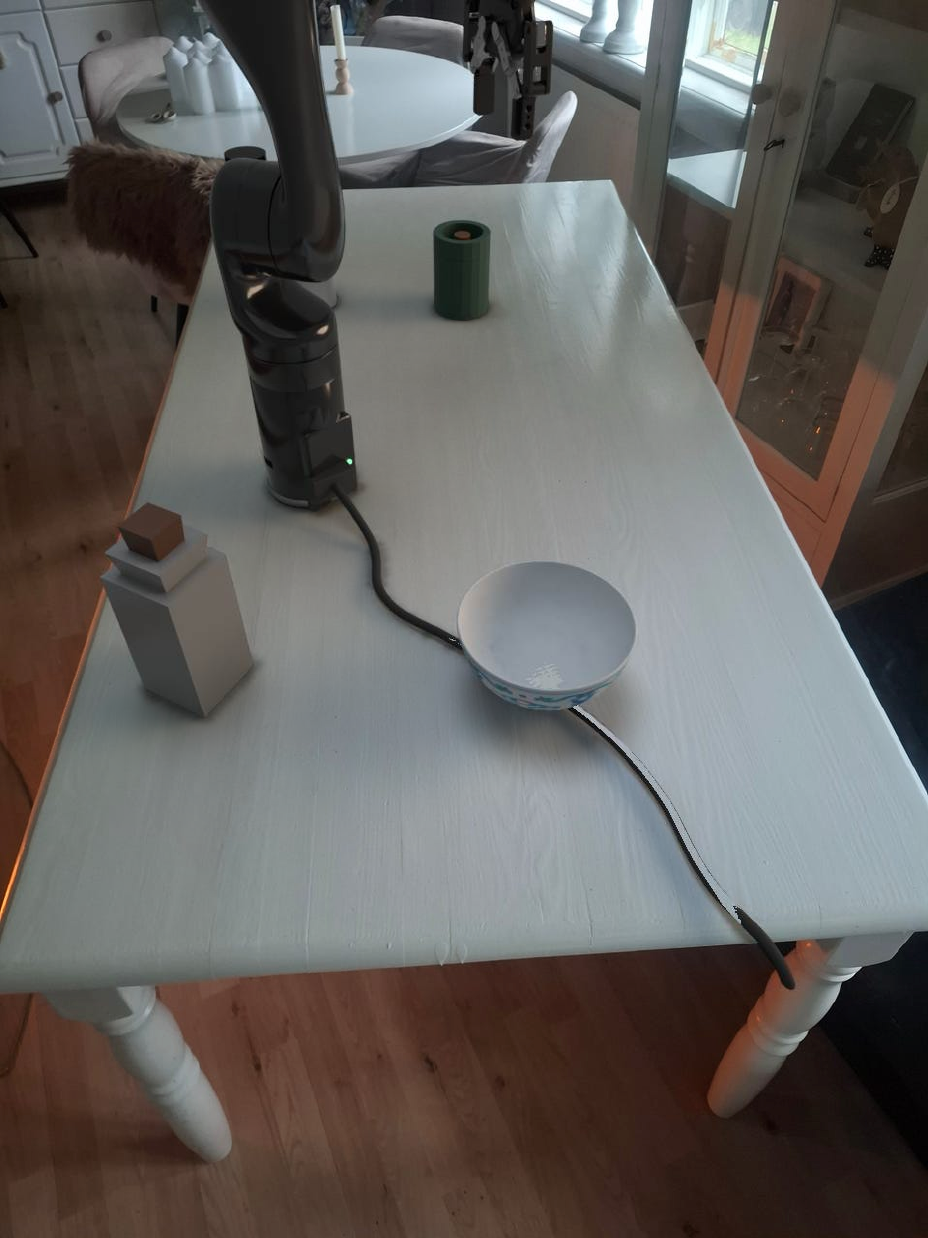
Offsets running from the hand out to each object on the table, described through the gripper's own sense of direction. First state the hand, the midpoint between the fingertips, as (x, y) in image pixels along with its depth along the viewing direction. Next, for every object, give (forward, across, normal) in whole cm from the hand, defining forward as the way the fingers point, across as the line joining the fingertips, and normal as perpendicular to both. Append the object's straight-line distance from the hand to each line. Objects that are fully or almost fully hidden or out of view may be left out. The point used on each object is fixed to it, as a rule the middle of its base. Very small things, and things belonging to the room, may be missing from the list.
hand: (502, 126), depth 90 cm
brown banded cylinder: (+30, -20, +6) cm, 36 cm away
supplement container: (+30, -64, -12) cm, 71 cm away
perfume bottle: (+30, +33, -47) cm, 65 cm away
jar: (+30, -20, +6) cm, 37 cm away
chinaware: (+30, +46, -19) cm, 59 cm away
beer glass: (+30, -30, -13) cm, 45 cm away
